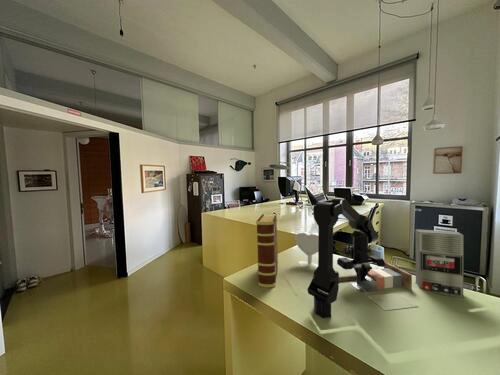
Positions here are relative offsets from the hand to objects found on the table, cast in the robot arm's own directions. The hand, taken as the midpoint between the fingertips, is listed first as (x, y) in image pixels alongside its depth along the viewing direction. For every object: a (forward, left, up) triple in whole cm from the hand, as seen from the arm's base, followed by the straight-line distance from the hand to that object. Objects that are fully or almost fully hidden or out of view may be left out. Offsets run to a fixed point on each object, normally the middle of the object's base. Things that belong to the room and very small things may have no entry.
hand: (360, 281), depth 88 cm
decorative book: (+20, +36, -4) cm, 41 cm away
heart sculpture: (+29, +10, -4) cm, 31 cm away
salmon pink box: (0, -6, -3) cm, 7 cm away
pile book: (-12, -4, -4) cm, 13 cm away
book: (0, -15, -3) cm, 15 cm away
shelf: (0, -3, -3) cm, 4 cm away
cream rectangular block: (0, -10, -3) cm, 11 cm away
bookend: (0, -1, -3) cm, 3 cm away
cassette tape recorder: (-8, -29, -4) cm, 30 cm away
